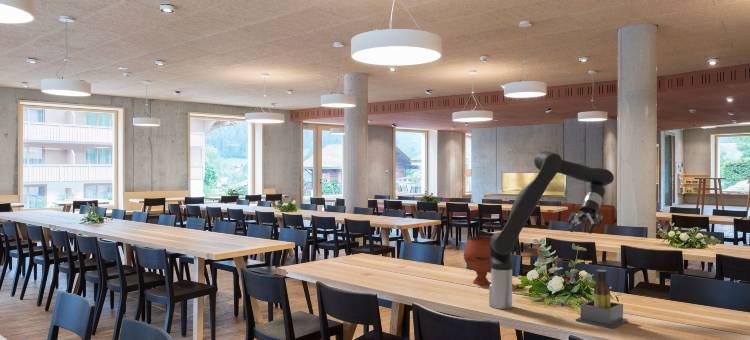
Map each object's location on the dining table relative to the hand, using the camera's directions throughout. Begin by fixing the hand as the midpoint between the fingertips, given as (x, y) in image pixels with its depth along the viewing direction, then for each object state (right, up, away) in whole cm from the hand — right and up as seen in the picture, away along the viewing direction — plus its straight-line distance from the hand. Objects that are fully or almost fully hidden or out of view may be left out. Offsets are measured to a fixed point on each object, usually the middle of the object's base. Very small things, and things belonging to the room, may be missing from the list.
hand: (580, 231), depth 244 cm
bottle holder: (+2, -35, -17) cm, 39 cm away
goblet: (-32, -35, +59) cm, 75 cm away
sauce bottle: (+3, -34, -17) cm, 38 cm away
